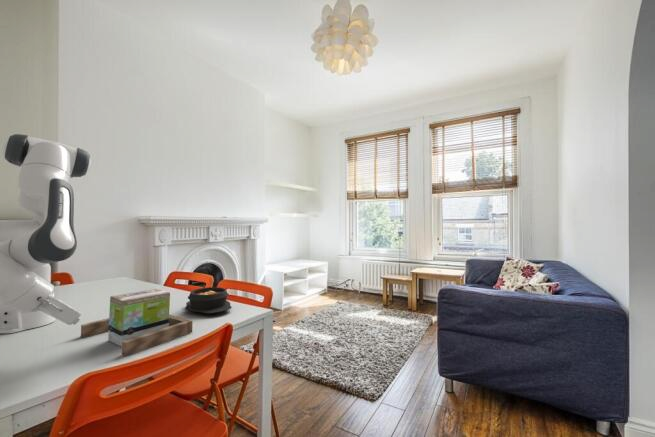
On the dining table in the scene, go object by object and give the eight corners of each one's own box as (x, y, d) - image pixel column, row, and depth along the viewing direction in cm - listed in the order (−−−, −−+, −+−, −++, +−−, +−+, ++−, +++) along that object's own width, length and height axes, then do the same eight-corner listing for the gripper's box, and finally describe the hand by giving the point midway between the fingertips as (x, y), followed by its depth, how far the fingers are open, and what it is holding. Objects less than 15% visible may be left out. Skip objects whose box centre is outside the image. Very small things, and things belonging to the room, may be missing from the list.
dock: (125, 356, 86) (125, 342, 86) (80, 336, 100) (81, 324, 100) (192, 332, 105) (192, 320, 105) (147, 318, 119) (147, 308, 119)
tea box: (122, 348, 92) (123, 300, 92) (107, 340, 97) (108, 295, 97) (169, 333, 104) (170, 291, 104) (154, 327, 110) (155, 287, 110)
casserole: (241, 311, 130) (242, 292, 130) (199, 321, 117) (200, 300, 117) (215, 300, 147) (215, 283, 147) (175, 307, 134) (176, 289, 134)
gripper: (59, 291, 76) (101, 318, 84) (29, 280, 86) (70, 305, 94) (35, 313, 72) (82, 339, 80) (7, 298, 82) (51, 323, 90)
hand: (75, 321), depth 87 cm, fingers closed
